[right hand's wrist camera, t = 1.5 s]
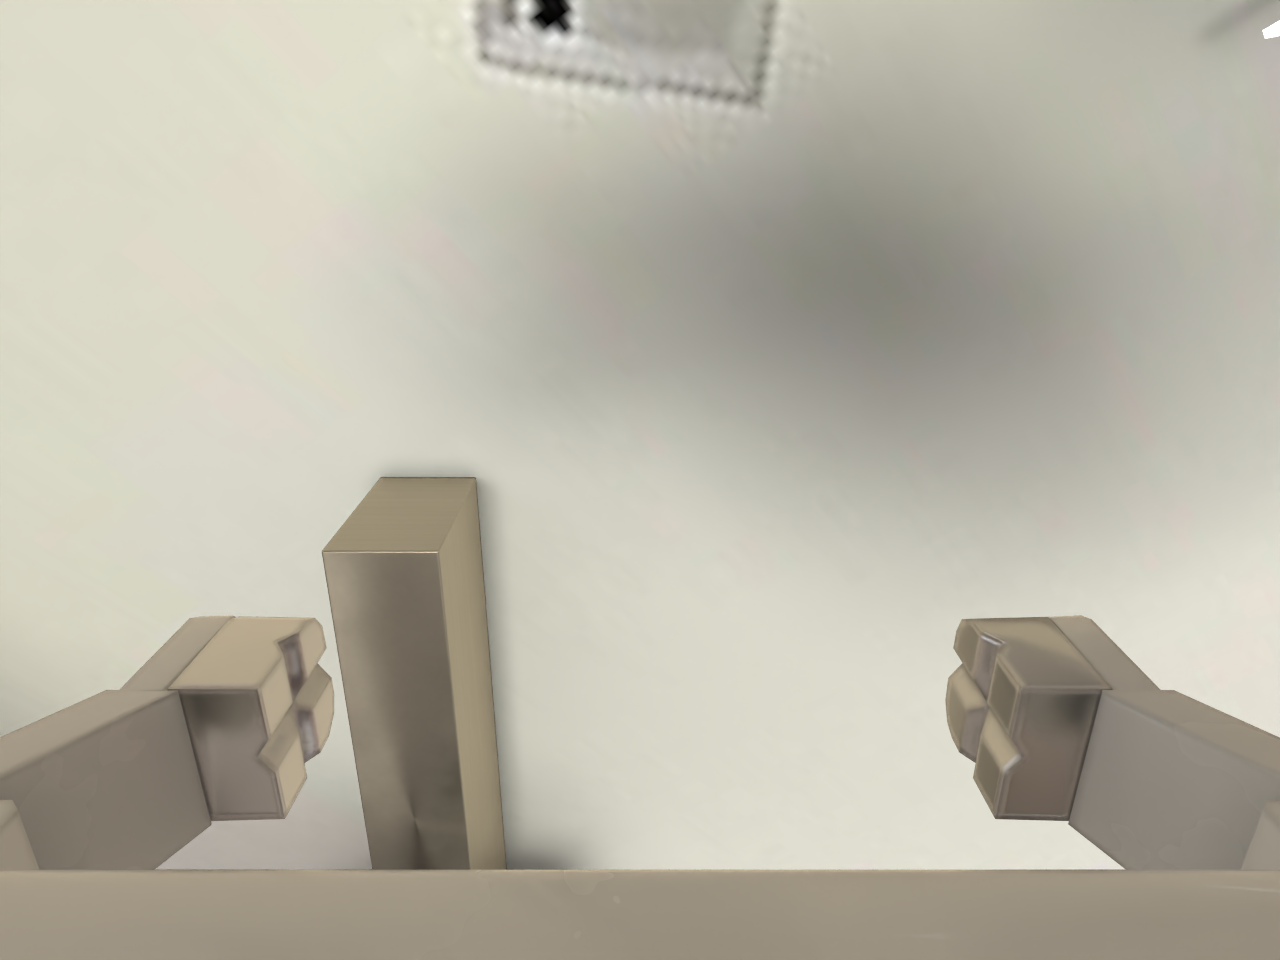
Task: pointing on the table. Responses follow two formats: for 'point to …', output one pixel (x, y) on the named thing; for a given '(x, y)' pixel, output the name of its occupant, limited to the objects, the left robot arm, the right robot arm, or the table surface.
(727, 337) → the table surface
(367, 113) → the table surface
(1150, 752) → the right robot arm
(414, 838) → the bar
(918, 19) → the table surface
